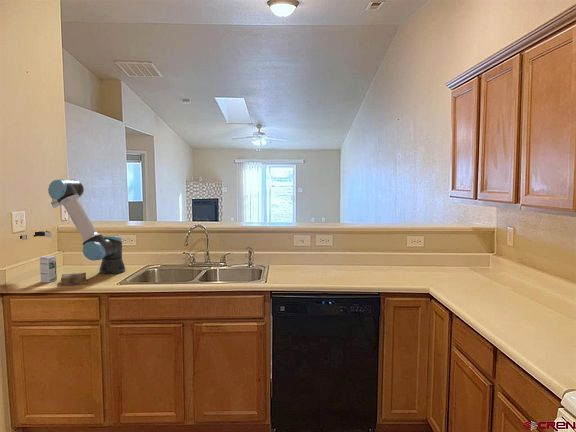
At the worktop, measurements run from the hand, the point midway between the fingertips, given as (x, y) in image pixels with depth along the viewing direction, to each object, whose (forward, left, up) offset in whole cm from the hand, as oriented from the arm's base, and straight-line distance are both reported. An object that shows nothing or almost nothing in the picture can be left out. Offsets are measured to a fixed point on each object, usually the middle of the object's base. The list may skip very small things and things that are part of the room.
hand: (38, 236), depth 224 cm
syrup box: (-5, +8, -25) cm, 27 cm away
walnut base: (-18, +17, -25) cm, 35 cm away
